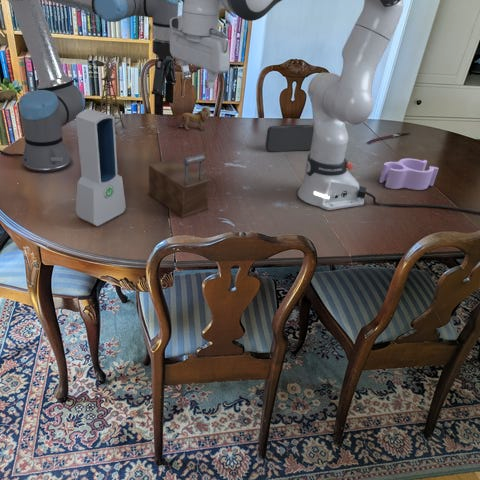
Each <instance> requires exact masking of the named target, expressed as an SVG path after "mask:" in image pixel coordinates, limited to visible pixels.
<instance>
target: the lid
mask: <svg viewBox="0 0 480 480" xmlns="http://www.w3.org/2000/svg"><path fill="white" fill-rule="evenodd" d="M204 161H206V157H205V154H203V153H201V154H196V155H191V156H189V157H184V158H183V160H182V161H181V162H180V161H179V160H177V159H176V158H171V159H167V160H163V161H159V162H155V163H150V164H148V169H149V168H150V169H152V170H153V171H155V172H157V173H158V174H160V175H161V176H163V177H164V178H166V179H167V180H169V181H170V182H172V183H174V184H175V185H177V186H178V187H180V188H181V189H183V190H187V189H191V188H194V187H197V186H200V185H204V184H207V183H209V184H210V183H211V179H209V178H208V177H206V176H205V175H203V165H204ZM197 163H199V165H198V168H199V169H198V171H196V170H194V169H193V168H191V167H190V165H194V164H197Z"/></svg>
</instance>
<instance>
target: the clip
mask: <svg viewBox="0 0 480 480" xmlns="http://www.w3.org/2000/svg"><path fill="white" fill-rule="evenodd" d="M427 164H428V160H427V159H423V160H421V159H417V158H412V157H411V158H409V157H407V158H401V159H400V160H398V161H386V162H384V163H383V166H382V170H381V173H380V178H379V181H378V182H379V183H380V184H381V183H384V182H385V184H384V187H385V188H388V189H391V190H399V189H408V190H414V191H416V190H417V191H424V190H426V189H428V188H429V186H430V187H433V186H434V183H435V180H436V178H437V175H438V172H439V167H437V166H432V165H430V166H429V167H428V169H427V170H426V168H427Z"/></svg>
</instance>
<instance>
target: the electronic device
mask: <svg viewBox="0 0 480 480" xmlns="http://www.w3.org/2000/svg"><path fill="white" fill-rule="evenodd" d="M102 112H103V111H102ZM102 112H100V110H95V109H84V110H83V111H82V112H80V113H79V114H78V115H77V116H76V119H75V123H76V132H77V141H78V142H77V143H78V153H79V154H78V155H79V162H80V173H81V176H80V178H79V179H78V181H77V183H76V185H77V186H76V199H75V200H76V201H75V212H76V214H77V217H78V218H80V219H81V220H83V221H85V222H86V223H87V222H88V223H90V224H91V225H93V226H96V227H99V226H100V225H102V224H105V223H106V222H108V221H111V220H112V219H114V218H116V217H117V216H120V215H122V214H124V212H125V210H126V208H127V205H126V198H125V190H124V189H125V188H124V184H123V183H124V182H123V177H122V176H121V175H120V174H118V160H117V159H118V158H117V157H118V156H117V140H116V139H117V138H116V133H115V126H116V125H115V123H116V119H115V120H114V117H115V115H114V116H113V115H112V114H108V113H107V114H106V112H104V113H102Z"/></svg>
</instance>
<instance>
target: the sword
mask: <svg viewBox="0 0 480 480" xmlns="http://www.w3.org/2000/svg"><path fill="white" fill-rule="evenodd" d="M401 133H402V132H396V133H393V134H389V135H384V136H381V137H375V138H373V139H370V140H369V141H367V143H368V144H372V143H374V142H377V141H381V140H385V139H389V138H393V137H401V136H403V135H404V134H401ZM409 134H410V133H406V134H405V135H409Z"/></svg>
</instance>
